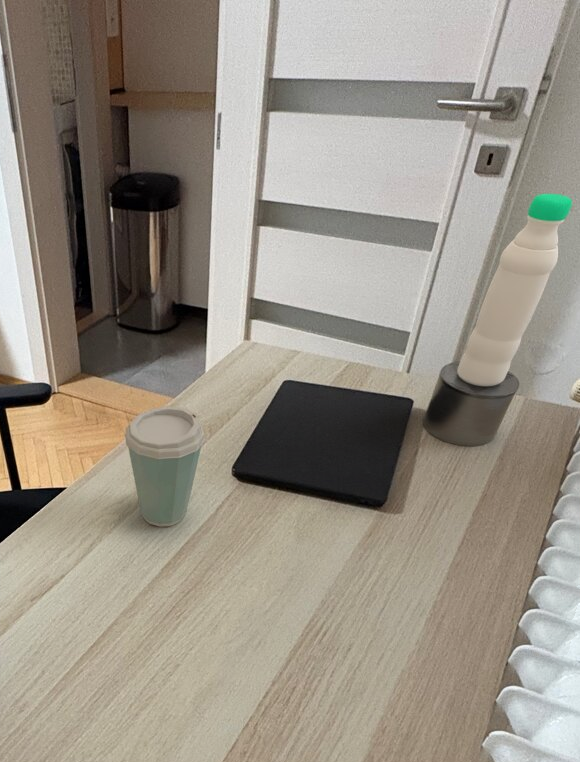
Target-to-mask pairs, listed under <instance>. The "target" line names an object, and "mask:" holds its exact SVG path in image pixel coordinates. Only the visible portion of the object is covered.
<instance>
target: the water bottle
mask: <svg viewBox="0 0 580 762" xmlns="http://www.w3.org/2000/svg"><path fill="white" fill-rule="evenodd" d="M572 205H573V200H572V199H571V198H570V197H568V195H567V196H566V195H563V194H558V193H543V194H538V195H536V196H534V198H533V199H532V200H531V203H530V205H529V207H528V210H527V215H526V218H527V222H526V224H525V226H524V227H523V228H522V229H521V230H520V231H519V232H518V233H517V234H516V235H515V237H514V239H512V241H510V242H509V244H508V245H507V246H506V247H505V248H504V249H503V251H502V253H501V254H500V258H499V264H498V266H497V269H496V271H495V273H494V275H493V277H492V279H491V283H490V285H489V287H488V289H487V292H486V295H485V297H484V300H483V302H482V305H481V307H480V310H479V313H478V317H477V319H476V322H475V323H476V324H475V327H474V329H473V330H472V332H471V333H470V336H469V338H468V341H467V344H466V348H465V351H464V353H463V355H462V357H461V359H460V360H459V361H460V364H459V366H458V369H457V373H458V375H459V377H460V378H461V379H462V380H464V381H465V382H467V383H470V384H473V385H477V386H494V385H497V384H499V383H501V382H502V381H503V380H504V379H505V377H506V374H507V372H508V371H510V367H511V364H512V360H513V358H514V357H515V355H516V354H517V351H518V349H519V347H520V345H521V341H522V337H523V335H524V333H525V332H526V329H527V328H528V327H529V324H530V322H531V320H532V318H533V316H534V314H535V311H536V309H537V307H538V305H539V303H540V300H541V298H542V295H543V293H544V291H545V288H546V285H547V283H548V280H549V278H550V275H551V272H552V271H553V270H554V268H555V267H556V265H557V263H558V259H559V246H558V245H559V234H558V230H559V226H560V225H561V224H563V223H564V222H565V219H566V218H567V217H568V216H569V213H570V211H571V209H572Z"/></svg>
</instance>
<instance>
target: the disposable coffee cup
mask: <svg viewBox="0 0 580 762" xmlns="http://www.w3.org/2000/svg"><path fill="white" fill-rule="evenodd" d="M124 437H125V445H126V446H127V448H128V453H129V458H130V464H131V468H132V474H133V479H134V484H135V489H136V495H137V498H138V504H139V509H140V515H141V516H142V518H143V519H144V520H145V521H146V522H147V523H148V524H150V525H153V526H155V527H172V526H174V525H176V524H179V523H181V521H182V520H183V518H184V516H185V514H186V513H187V512H188V511H187V510H188V507H189V502H190V498H191V493H192V489H193V486H194V480H195V475H196V472H197V466H198V463H199V458H200V453H201V450H202V445H203V444H204V442H205V441H206V439H205V431H204V429H203V425H202V423H201V420H200V416H198V415H197V414H196V413H195V412H193V411H192V410H191V409H189V408H187V407H182V406H181V407H180V406H174V405H168V406H160V407H153V408H150V409H148V410H146V411H144V412H141V413H139V414H137V415H136V416H134V418H133V420H131V422H130V423H129V424H128V425H127V426H126V427H125V433H124Z"/></svg>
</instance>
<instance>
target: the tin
mask: <svg viewBox="0 0 580 762" xmlns="http://www.w3.org/2000/svg"><path fill="white" fill-rule="evenodd" d="M460 361H461V360H457V361H453V362H449V363H447V364H444V365H443V366H442V368H440V370H439V374H438V378H437V381H436V383H435V386H434V389H433V392H432V395H431V397H430V400H429V402H428V404H427V408H426V411H425V414H424V416H423V419H422V425H423V428H424V429H425V430H426V432H427V433H428V434H430V435H431V436H432V437H434V438H436V439H437V440H440V441H442V442H445V443H448V444H452V445H456V446H463V447H464V446H465V447H477V446H478V447H479V446H484V445H487V444H488V443H490V442H492V441H493V440H494V439H495V437H496V435H497V433H498V431H499V429H500V426H501V424H502V422H503V420H504V418H505V416H506V414H507V412H508V409H509V407H510V405H511V403H512V401H513V399H514V397H515V395H516V393H517V392H518V391H519V389H520V388H519V387H520V381H519V379H518V378H517V377H516V375H514V373H512V372H510V370H508V372H507V374H506V377H505V379H504V380H503V381H502V382H501V383H499V384H497V385H494V386H477V385H473V384H470V383H467V382H465V381H464V380H462V379H461V378H460V377H459V375H458V373H457V369H458V366H459V364H460Z"/></svg>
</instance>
